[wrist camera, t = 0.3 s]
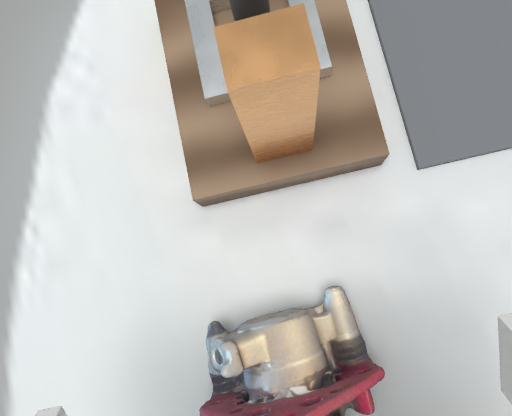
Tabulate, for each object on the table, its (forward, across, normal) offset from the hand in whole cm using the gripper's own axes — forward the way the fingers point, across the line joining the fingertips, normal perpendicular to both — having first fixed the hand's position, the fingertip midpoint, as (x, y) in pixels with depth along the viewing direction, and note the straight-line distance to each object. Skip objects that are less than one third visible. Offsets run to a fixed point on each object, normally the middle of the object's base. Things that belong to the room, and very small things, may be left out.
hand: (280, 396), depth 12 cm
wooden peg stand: (+25, -2, -7) cm, 26 cm away
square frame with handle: (+22, -2, -8) cm, 24 cm away
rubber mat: (+24, -19, -5) cm, 31 cm away
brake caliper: (+14, +1, +12) cm, 19 cm away
